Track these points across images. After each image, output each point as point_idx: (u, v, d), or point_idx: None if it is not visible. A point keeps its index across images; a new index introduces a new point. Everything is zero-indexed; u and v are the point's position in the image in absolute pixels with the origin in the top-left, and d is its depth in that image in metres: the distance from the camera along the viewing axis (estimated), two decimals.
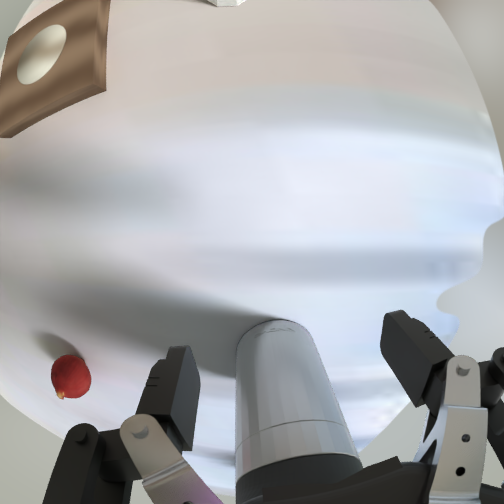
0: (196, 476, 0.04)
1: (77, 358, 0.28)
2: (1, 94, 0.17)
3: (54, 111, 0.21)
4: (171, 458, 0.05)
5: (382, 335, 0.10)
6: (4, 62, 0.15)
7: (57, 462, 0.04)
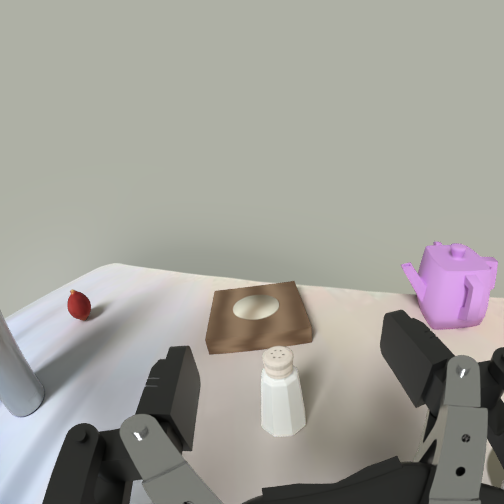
0: (196, 476, 0.04)
1: (85, 315, 0.51)
2: (243, 289, 0.54)
3: None
4: (171, 458, 0.05)
5: (382, 335, 0.10)
6: (270, 285, 0.54)
7: (57, 462, 0.04)
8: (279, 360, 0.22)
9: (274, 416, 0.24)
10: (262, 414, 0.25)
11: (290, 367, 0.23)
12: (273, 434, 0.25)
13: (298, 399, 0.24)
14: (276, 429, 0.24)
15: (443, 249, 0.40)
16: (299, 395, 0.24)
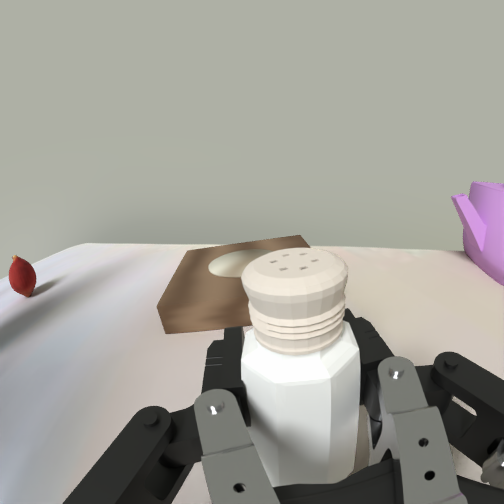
0: (258, 460, 0.04)
1: (27, 288, 0.34)
2: (227, 246, 0.37)
3: None
4: (239, 437, 0.05)
5: None
6: (265, 240, 0.38)
7: (116, 441, 0.05)
8: (304, 275, 0.06)
9: (283, 466, 0.07)
10: None
11: (340, 308, 0.07)
12: None
13: (352, 418, 0.08)
14: None
15: (493, 184, 0.25)
16: (356, 406, 0.08)
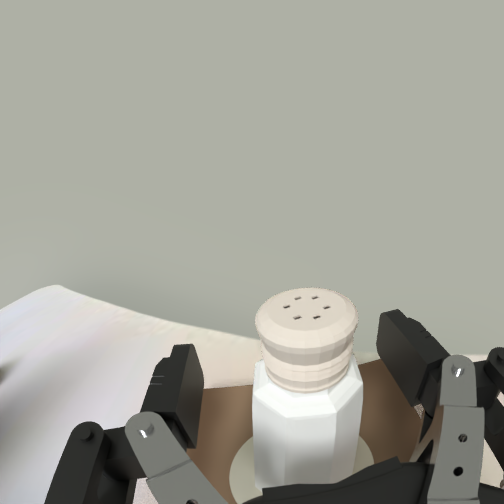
0: (201, 474, 0.04)
1: None
2: None
3: None
4: (176, 456, 0.05)
5: (378, 334, 0.10)
6: None
7: (61, 460, 0.04)
8: (318, 325, 0.06)
9: (288, 481, 0.07)
10: (257, 470, 0.09)
11: (348, 350, 0.07)
12: None
13: (353, 438, 0.08)
14: None
15: None
16: (357, 428, 0.08)
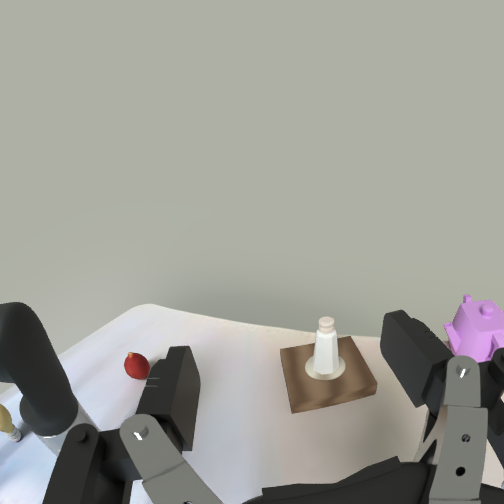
0: (196, 476, 0.04)
1: (145, 375, 0.52)
2: (306, 346, 0.55)
3: (286, 385, 0.48)
4: (171, 458, 0.05)
5: (382, 335, 0.10)
6: None
7: (57, 462, 0.04)
8: (328, 322, 0.44)
9: (323, 358, 0.45)
10: (315, 360, 0.47)
11: (333, 326, 0.45)
12: (321, 372, 0.46)
13: (336, 347, 0.45)
14: (324, 368, 0.46)
15: (474, 306, 0.43)
16: (336, 344, 0.46)
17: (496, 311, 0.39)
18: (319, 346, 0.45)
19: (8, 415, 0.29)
